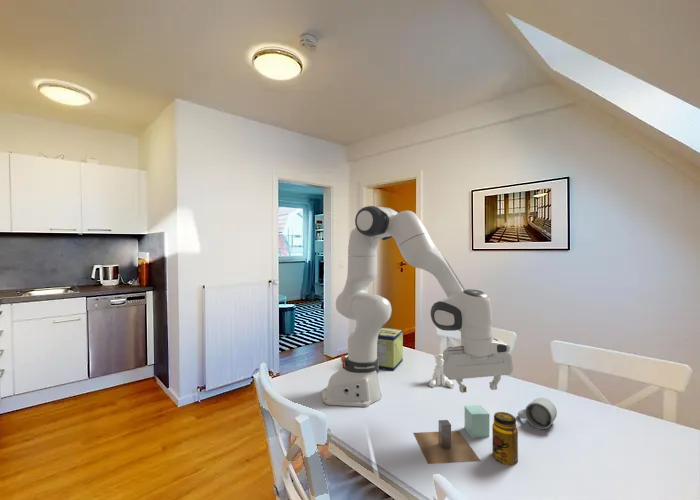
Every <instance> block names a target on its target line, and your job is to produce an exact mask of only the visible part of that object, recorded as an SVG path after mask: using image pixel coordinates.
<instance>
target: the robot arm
mask: <svg viewBox="0 0 700 500" xmlns="http://www.w3.org/2000/svg"><path fill="white" fill-rule="evenodd" d="M354 225H355V228H353V229H352V230H351V231H350V234H349V239H348V245H347V246H348V247H347V248H348V249H347V274H346V275H347V277H346V280H345V284H344V287H343V290H342V291H341V292H340V293H339V294H338V295H337V297H336V300H335V307H336V311H337V312H338V313H339V314H340V315H341V316H343V317H345V318H346V319H349V320H354V321H356V322H355V323H356V325H355V329H354V331H353V332H352V333H350V334H349V336H348V338H347V357H346V356H345V355H342V356H341V357H340V361H341V363H342V367H341V368H339V370H337V371H335V373H333V374H331V376H329V377H330V378H329V380H328V384H327V386H325V387H324V388H323V389H322V390H321V391H322V392H321V400H322V402H323V403H324V404H325V405H329V406H345V407H346V406H347V407H361V408H362V407H365V408H367V407H369V406H370V405H371V404H372V403H374V402H377V401H379V400H380V399H381V398H382V392H381V388H380V384H379V375H378V373H379V364H378V358H377V339H378V334H379V331H380V329H382V328H383V326H384V325H385V324H386V323H387V322H388V321H389V320H390V318H391V316H392V311H393V310H392V305H391V302H390V301H389V300H388V299H387V298H385V297H383V296H381V295H379V294H374V293H371V292H369V287H370V285H371V283H372V282H373V281H374V280H375V279H376V278H377V276H378V244H379V242H380V240H382V241H385V240H388V239H391V238H393V239H394V241H395V243H396V245H397V248H398V250H399V252H400V254H401V256H402V258H403V259H404V260H405V262H406V263H407V264H408V265H409V266H411V267H414V268H416V269H420V270H424V271H426V272H428V273H429V274H431V275H433V277H435V278H436V280H437V282H438V284H439V285H440V287H441V288H442V290H443V291H444V293H445V295H446V297H445V298H442V299H439V300H438V301H437V302H434V303H433V305H432V306H431V308H430V318H431V321H432V323H433V324H434V326H435V327H436V328H438V329H439V330H441V331H448V332H449V331H453V332H454V331H459V332H460V345H459V346H448V347H447V348H445V349H444V350H443V351H442V354H443V360H444V364H443V373H444V375H445V376H446V377H447V378H448V379H449V380H451V381H453V380H455V381H456V383H457V385H459V386H458V388H459V392H460V393H461V394H463V393H467V386H466V385H465V384H463V382H464V381H463V380H464V379H475V378H485V377H487V378H488V377H493V379H492V381H489V383H488V384H489V389H490V390H491V391H496V390H498V384H499V382H500V381H501V379H502V376H509V375H511V374H512V373H513V371H514V365H513V364H514V363H513V357H512V354H511V353H510V351H511V346H510V345H509V343H506V342H505V341H503V340H501V339H499V338H496V337H494V335H493V332H492V324H493V309H492V304H491V303H492V302H491V299H490V297H489V295H488V294H487V293H485V292H484V291H482V290H478V289H472V288H471V289H469V288H468V289H467V288H465V287H464V285H463V284H462V282H461V281H460V279H459V278H458V276H457V274H456V272H455V271H454V269H453V267H452V266H451V265H450V263H449V262H448V260H447V259H446V258H445V257H444V255H443V254H442V253H441V252H440V250H439V249H438V248H437V246H436V244H435V243H434V241H433V239H432V238H431V235H430V234H429V232H428V230H427V228H426V227H425V225H424V224H423V222H422V221H421V219H420V218H419V217H418V215H417V214H416V213H415V212H414V211H412V210H402V211H399V210H397V209H394V208H391V207H386V206H375V205H368V206H364V207H361V208H360V209H359V210H358V211H357V213H356V214H355V220H354Z"/></svg>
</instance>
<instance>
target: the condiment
mask: <svg viewBox="0 0 700 500" xmlns="http://www.w3.org/2000/svg"><path fill="white" fill-rule="evenodd" d="M491 426H492V429H491V430H492V447H491V448H492V457H493V459H494V460H495V461H496V462H498V463H500V464H502V465H505V466H515V465H517V464H518V462H519V445H518V444H519V443H518V442H519V440H518V439H519V437H518V436H519V431H518V427H517V419H516V417H515V416H514V415H513V414H511V413H509V412H504V411H498V412H495V413H494V415H493V423H492V425H491Z"/></svg>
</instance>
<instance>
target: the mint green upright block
mask: <svg viewBox="0 0 700 500" xmlns="http://www.w3.org/2000/svg"><path fill="white" fill-rule="evenodd" d="M464 429H465V430H466V432H467V433H468V434H469V436H470V437H471V438H484V437H485V438H488V437H490V413H489V411H487V410H486V409H485V407H483V406H482V405H464Z"/></svg>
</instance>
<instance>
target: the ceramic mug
mask: <svg viewBox="0 0 700 500" xmlns="http://www.w3.org/2000/svg"><path fill="white" fill-rule="evenodd" d="M517 414H518V417H519V418H520V419H522V420H523V419H526V420H527V422H528V423H529V424H530V425H531V426H533V427H535V428H536V429H539V430H547V429H549V428H550V427H551V426H552V424H553V423H554V421H555V420H556V418H557V414H558V411H557V407H556V405H555V404H554V402H553V401H551V400H550V399H548V398H544V397H538V398H535V399H533V400H532V401H531V402H530V403H528V404H526V407H525V409H521V410H519V411H518V412H517Z"/></svg>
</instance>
